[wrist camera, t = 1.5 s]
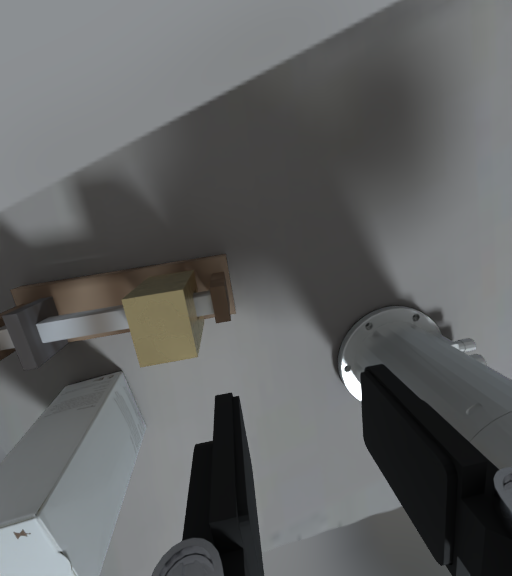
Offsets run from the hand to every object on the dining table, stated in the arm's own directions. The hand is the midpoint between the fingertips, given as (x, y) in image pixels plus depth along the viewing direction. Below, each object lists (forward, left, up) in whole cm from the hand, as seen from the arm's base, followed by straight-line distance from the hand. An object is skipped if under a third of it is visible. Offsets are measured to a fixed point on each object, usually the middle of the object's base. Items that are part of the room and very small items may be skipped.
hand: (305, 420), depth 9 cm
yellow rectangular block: (+7, 0, -18) cm, 19 cm away
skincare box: (+18, +12, -22) cm, 30 cm away
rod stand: (+12, 0, -21) cm, 24 cm away
